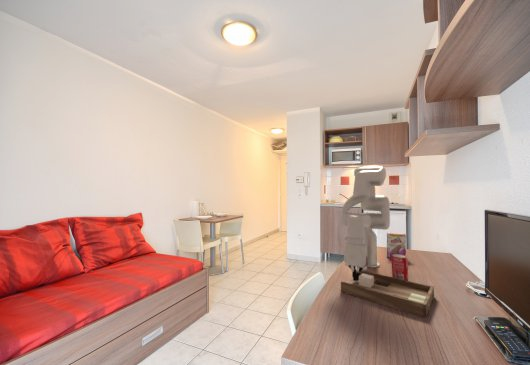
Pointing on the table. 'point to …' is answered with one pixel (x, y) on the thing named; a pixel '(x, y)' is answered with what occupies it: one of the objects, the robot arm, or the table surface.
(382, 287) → the board
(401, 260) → the red carton
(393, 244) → the candy bar box
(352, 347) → the table surface
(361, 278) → the cream block
